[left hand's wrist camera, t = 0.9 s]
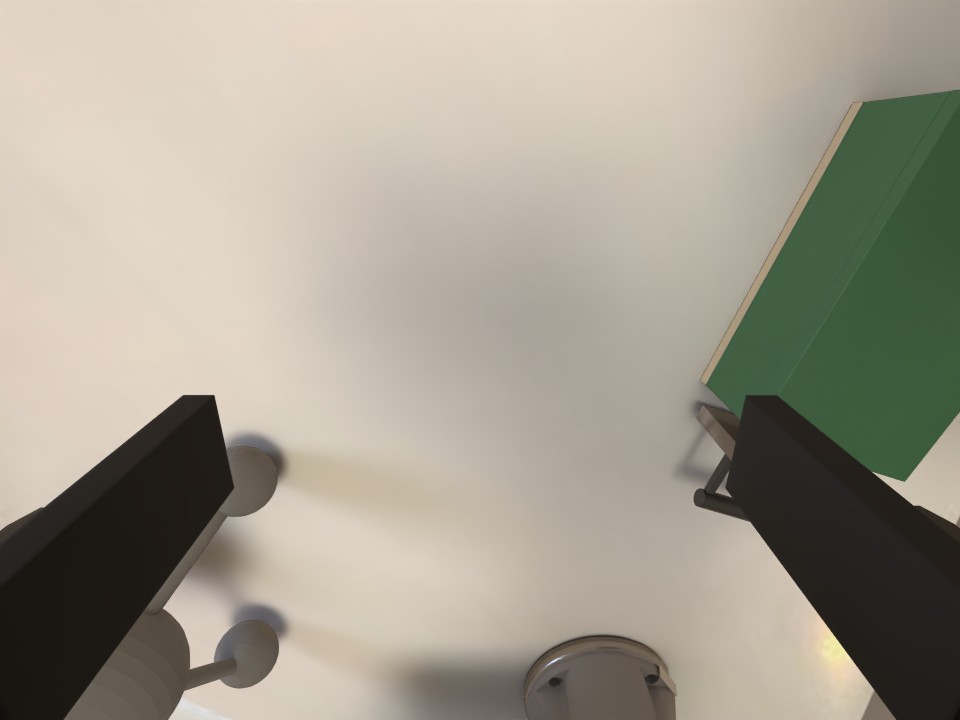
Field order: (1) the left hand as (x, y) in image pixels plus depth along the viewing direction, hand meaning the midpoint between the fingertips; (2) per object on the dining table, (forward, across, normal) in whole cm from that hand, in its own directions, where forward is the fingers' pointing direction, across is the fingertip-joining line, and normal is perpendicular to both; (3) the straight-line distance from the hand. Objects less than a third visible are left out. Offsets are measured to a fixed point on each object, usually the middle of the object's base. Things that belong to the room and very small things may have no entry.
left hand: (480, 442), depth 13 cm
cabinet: (+26, -26, +2) cm, 37 cm away
